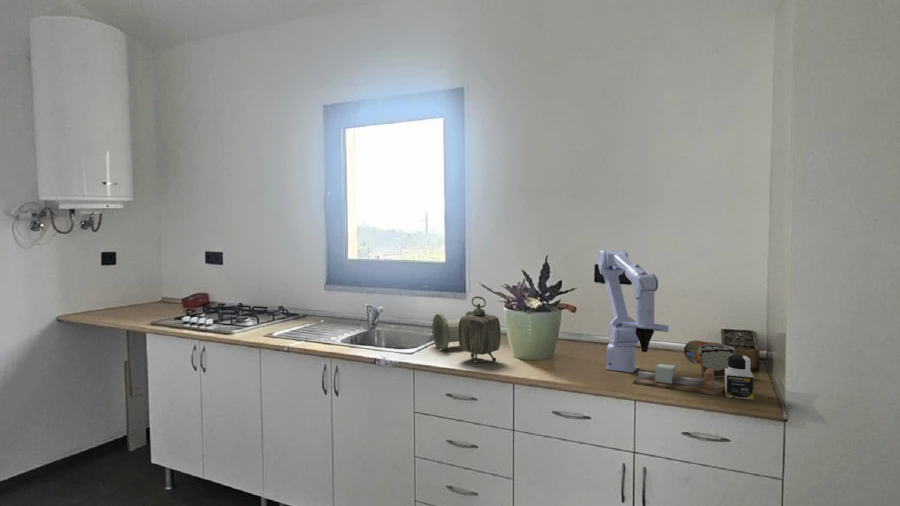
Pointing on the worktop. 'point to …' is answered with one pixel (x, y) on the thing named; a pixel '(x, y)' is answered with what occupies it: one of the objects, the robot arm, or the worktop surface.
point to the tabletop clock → (479, 332)
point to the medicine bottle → (739, 377)
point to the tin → (695, 350)
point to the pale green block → (664, 373)
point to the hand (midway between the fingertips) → (644, 351)
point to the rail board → (684, 383)
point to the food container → (715, 358)
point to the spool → (445, 330)
